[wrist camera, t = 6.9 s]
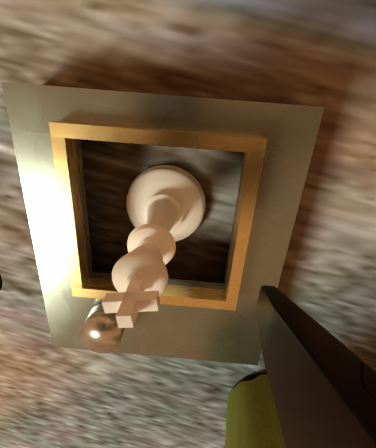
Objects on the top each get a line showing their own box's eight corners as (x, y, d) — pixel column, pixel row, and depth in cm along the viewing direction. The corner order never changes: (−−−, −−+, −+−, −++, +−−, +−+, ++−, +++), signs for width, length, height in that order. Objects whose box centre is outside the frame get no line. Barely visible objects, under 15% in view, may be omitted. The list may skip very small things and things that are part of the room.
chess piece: (120, 168, 16) (10, 251, 7) (202, 161, 15) (206, 238, 6) (135, 241, 18) (65, 382, 9) (207, 236, 17) (216, 378, 8)
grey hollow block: (300, 107, 14) (343, 106, 10) (250, 330, 20) (262, 388, 16) (40, 86, 14) (-28, 78, 10) (72, 314, 21) (39, 367, 16)
